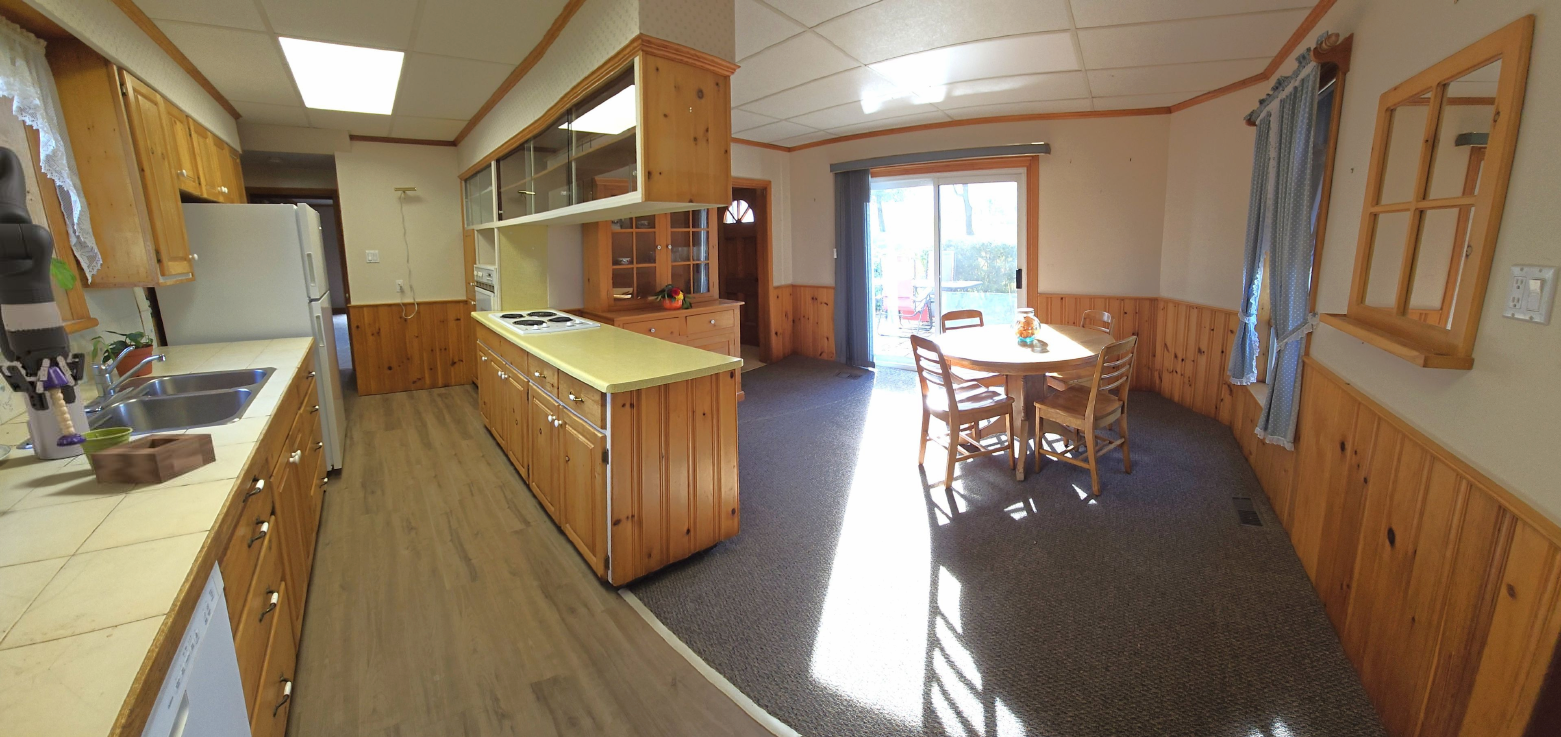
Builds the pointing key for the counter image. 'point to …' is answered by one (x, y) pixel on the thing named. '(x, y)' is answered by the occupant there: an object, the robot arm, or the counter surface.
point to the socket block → (153, 458)
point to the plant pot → (103, 440)
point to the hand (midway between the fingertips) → (55, 406)
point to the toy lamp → (61, 407)
